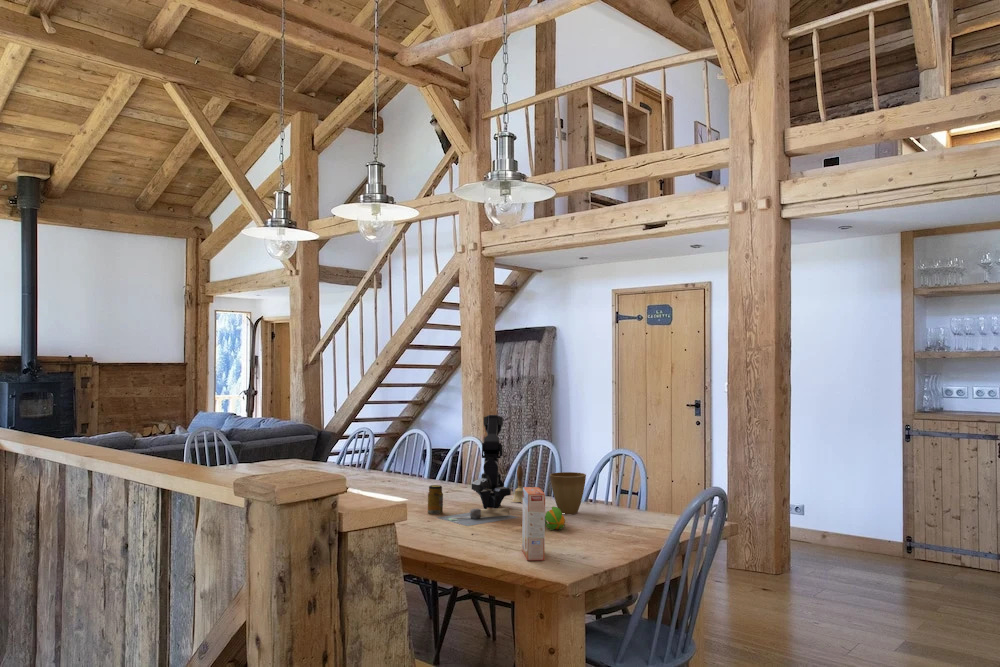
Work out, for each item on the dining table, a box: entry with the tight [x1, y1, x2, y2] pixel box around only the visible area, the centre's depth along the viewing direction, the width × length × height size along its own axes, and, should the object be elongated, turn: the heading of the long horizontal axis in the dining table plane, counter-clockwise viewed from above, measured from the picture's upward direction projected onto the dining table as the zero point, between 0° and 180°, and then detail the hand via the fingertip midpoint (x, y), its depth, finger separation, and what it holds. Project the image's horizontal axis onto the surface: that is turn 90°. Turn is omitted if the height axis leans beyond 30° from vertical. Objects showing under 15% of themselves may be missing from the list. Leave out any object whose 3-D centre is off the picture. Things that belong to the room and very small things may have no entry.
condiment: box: [427, 484, 444, 516], centre depth 306 cm, size 7×8×12 cm
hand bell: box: [510, 465, 524, 502], centre depth 339 cm, size 8×8×16 cm
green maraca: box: [545, 506, 566, 531], centre depth 286 cm, size 7×8×20 cm
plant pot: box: [549, 471, 587, 515], centre depth 313 cm, size 15×15×16 cm
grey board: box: [436, 512, 520, 527], centre depth 298 cm, size 26×20×1 cm
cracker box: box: [521, 486, 546, 562], centre depth 243 cm, size 14×6×21 cm, turn 5°
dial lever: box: [451, 507, 510, 519], centre depth 297 cm, size 24×4×3 cm, turn 112°
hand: (490, 510), depth 304 cm, fingers open, 6 cm apart
